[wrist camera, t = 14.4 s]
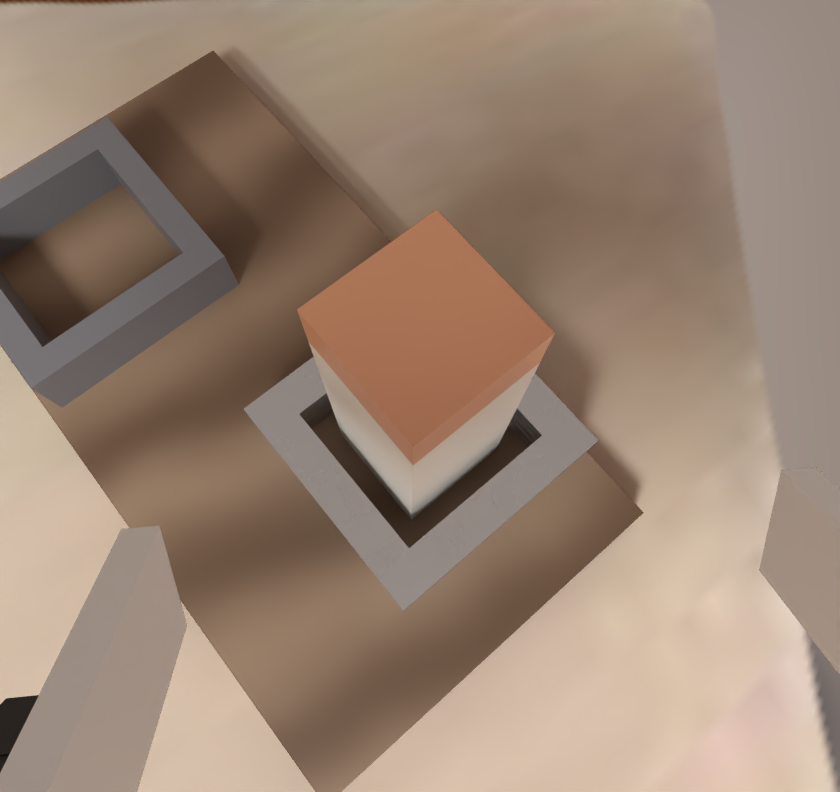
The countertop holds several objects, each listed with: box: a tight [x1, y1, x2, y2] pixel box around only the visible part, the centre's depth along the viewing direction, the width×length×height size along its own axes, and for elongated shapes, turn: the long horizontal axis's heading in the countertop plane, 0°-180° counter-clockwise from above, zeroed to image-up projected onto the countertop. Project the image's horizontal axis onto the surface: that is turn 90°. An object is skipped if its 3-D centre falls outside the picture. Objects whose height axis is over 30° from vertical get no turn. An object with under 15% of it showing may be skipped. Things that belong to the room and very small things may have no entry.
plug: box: [297, 210, 555, 520], centre depth 23 cm, size 4×4×12 cm
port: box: [244, 357, 598, 611], centre depth 27 cm, size 10×10×2 cm
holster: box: [0, 117, 239, 408], centre depth 29 cm, size 9×9×2 cm
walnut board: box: [0, 51, 643, 792], centre depth 30 cm, size 30×16×2 cm, turn 40°
